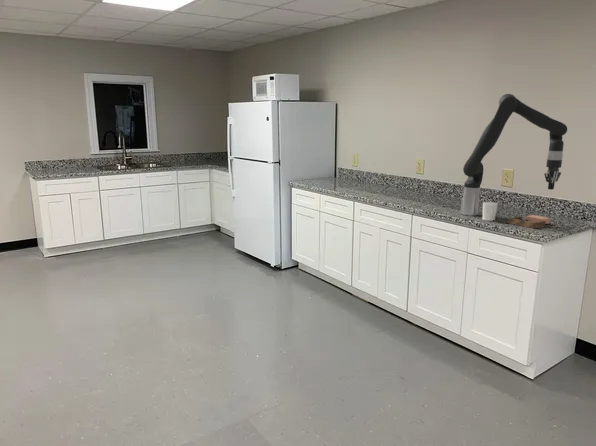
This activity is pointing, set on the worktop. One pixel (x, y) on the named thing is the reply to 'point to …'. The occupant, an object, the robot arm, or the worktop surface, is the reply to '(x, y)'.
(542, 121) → the robot arm
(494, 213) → the white cup
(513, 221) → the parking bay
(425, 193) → the worktop surface
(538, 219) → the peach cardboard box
